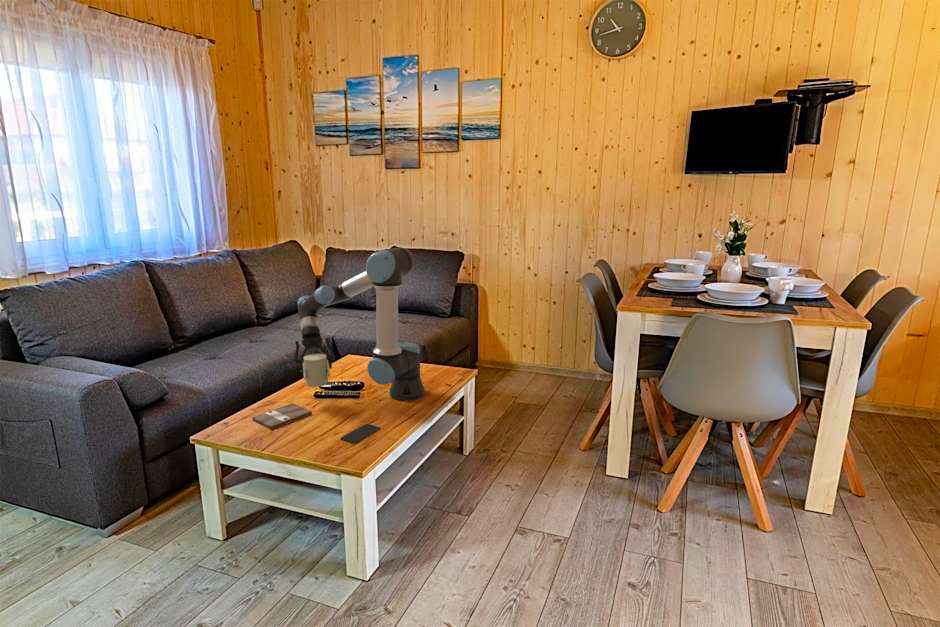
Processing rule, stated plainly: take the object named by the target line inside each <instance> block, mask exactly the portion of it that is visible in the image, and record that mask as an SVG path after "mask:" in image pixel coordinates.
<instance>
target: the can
mask: <svg viewBox="0 0 940 627" xmlns="http://www.w3.org/2000/svg"><path fill="white" fill-rule="evenodd" d="M326 357H327V356H326V355H325V354H322V353H319V352H316V353H309V354H306V356H304V362H303V363H304V365H305V372H306V380H305V386H306V387H309V388H318V387H319V388H320V387H324V386H326V385H328V384H329V377H328V373H327V359H326Z"/></svg>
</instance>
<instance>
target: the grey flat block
mask: <svg viewBox="0 0 940 627" xmlns="http://www.w3.org/2000/svg"><path fill="white" fill-rule="evenodd" d="M312 412H313V411H312V410H309V409H307V408H305V407H303V406H300V405H297V404H296V403H293V402H292V403H289V404H286V405H283V406H280V407H277V408H275V409H271V410H267V411H266V412H264V413H261V414H257V415H256V416H255V415H254V416H252V418H251V419H252V421H253V422H255V423H257V424H259V425H262V426H263V427H265V426H266V427H265V428H267V427H268V428H267V429H269V428H270V430H271V429H272V430H274V429H276V427H277V428H279V426H280V427H281V426H285V425H287V424H290V423H292V421H293V422H295V421H298V420H301V419H303V418H305V416H306V417H308V416H311V415H312ZM310 414H311V415H310ZM307 415H308V416H307ZM302 417H303V418H302ZM297 419H298V420H297ZM294 420H295V421H294ZM289 422H290V423H289ZM286 423H287V424H286ZM284 424H285V425H284ZM273 428H274V429H273Z"/></svg>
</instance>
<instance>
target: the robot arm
mask: <svg viewBox="0 0 940 627" xmlns="http://www.w3.org/2000/svg"><path fill="white" fill-rule="evenodd" d="M365 263H366V264H365V271H362V272H360V273H358V274H357V275H354V276H352V277H351V278H349V279H347V280H345V281H343V282H341V283H338V284H336V285H333V286H329V285H326V284H324V285H321V286H320V287H318V288H317V289H316V290H315V291H314V292H313V293H312V294H311V295H303V296H301V297H299V298H298V300H297V310H298V317H299V324H300V330H301V338H302V340H301V341H300V340H299V341H297V340H296V341H294V342H295V343H294V344H295V345H294V346H295V355H294V363H293V364H294V366H295V365H298V366H299V372H300V373H303V381H306V372H305V365H304V356H306V355H308V353H309V351H312V350H317V351H318V352H320V353H322V354H325V355H326V356H327V357H326V359H327V374H328V378H330V377H331V370H330V369H332V368H333V367H332V366H333V365H332V362H333V361H335V358H336V356H335V355H336V354H334V351H333V349H332V346H331V344H330V338H329V337H326V338H322V335H321V331H320V330H321V329H320V325H319V324H320V323H319V317H318V313H320V312H322V310H323V309H324V308H326V307H329V306H330V305H331V306H332V305H335V304H339V303H342V302H346V301H348V300H351V299H353V297H354V296H357V295H359V294H361V293H363V292H365V291H367V290H369V289H371V288H373V287H374V289H375V297H376V298H375V306H376V308H375V309H376V310H375V314H376V315H375V316H376V318H375V319H376V320H375V321H376V322H375V323H376V325H375V326H376V346H375V347H374V348H373V350H372V359H371V358H370V360H369V361H368V363H367V366H366V368H367V373H368V375H369V377H370V378H371V379H372V381H373V382H374V383H376V384H378V385H383V386H384V385H389V384H391V385H390V387H389V397H390V398H392V399H393V400H397V401H415V400H418V399H421V398H422V397H424V396H425V387H424V384H423V381H422V378H421V350H420V345H419V344H418V343H414V342H410V341H399V288H400V287H402V286H403V277H404V276H407V275H409V274H410V273H411V272H412V271H413V270H414V267H415V257H414V255H413V254H412V252H411V251H410V250H409V249H407V248H405V247H394V248H388V249H383V250H382V249H381V250H379V251H376V252H373V253H372V254H371V255H370V256H369V257H368V258H367V261H366V262H365ZM322 344H324V345H325V348H326V350H327V351H326V350H325V349H324V348H323V346H322ZM301 346H303V347H304V349H303V351H302V354H301V356H300V358H299V354H300V347H301Z"/></svg>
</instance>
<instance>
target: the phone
mask: <svg viewBox="0 0 940 627" xmlns="http://www.w3.org/2000/svg"><path fill="white" fill-rule="evenodd" d="M379 429H380V430H381V427H380V426H376V425H373V424H370V423H364V425H361V426H359V427H358V428H356V429H354V430H352V431H350V432H349V433H347V434H344V435H343V436H341V437H340V441H342V440H343V441H342V442H345V441H346V443H348V442H350V443H349V444H351V443H356V444H358V443H360V442H361V441H360V440H362V439H363V440H365V439H366V438H365V437H367V436H368V437H370V436H371V435H370V434H372V433H373V434H375V433H377V432H378V431H377V430H379ZM380 430H379V431H380ZM376 431H377V432H376ZM374 432H375V433H374ZM373 434H372V435H373ZM369 435H370V436H369ZM368 437H367V438H368ZM364 438H365V439H364ZM363 440H362V441H363ZM359 441H360V442H359ZM357 442H358V443H357Z"/></svg>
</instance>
